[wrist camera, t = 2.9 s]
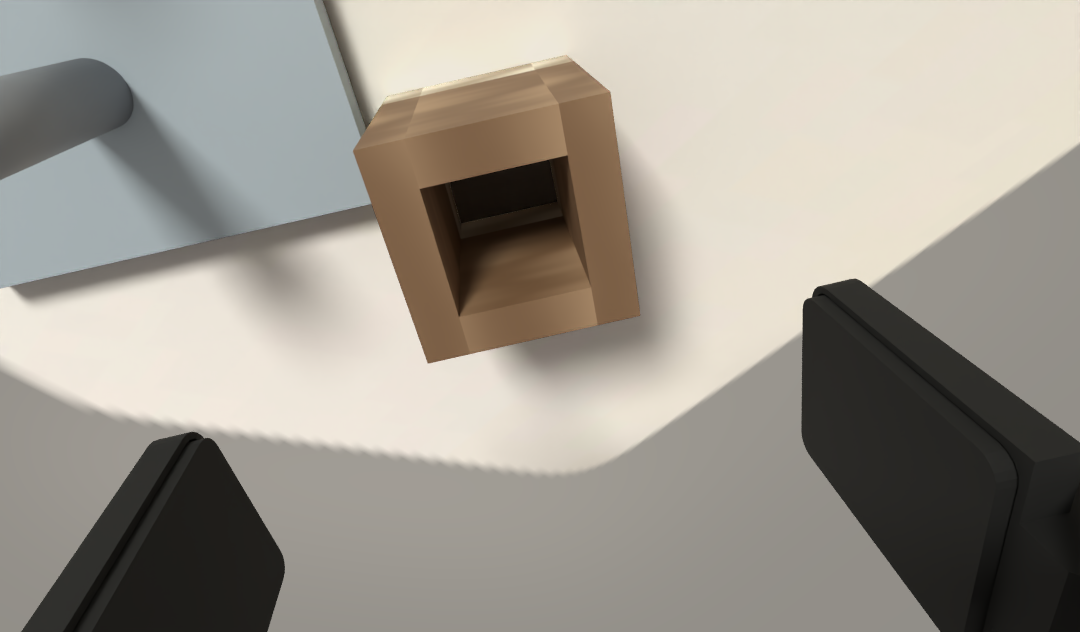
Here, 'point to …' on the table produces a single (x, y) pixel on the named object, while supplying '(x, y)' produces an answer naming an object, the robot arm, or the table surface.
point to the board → (166, 127)
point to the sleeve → (512, 238)
